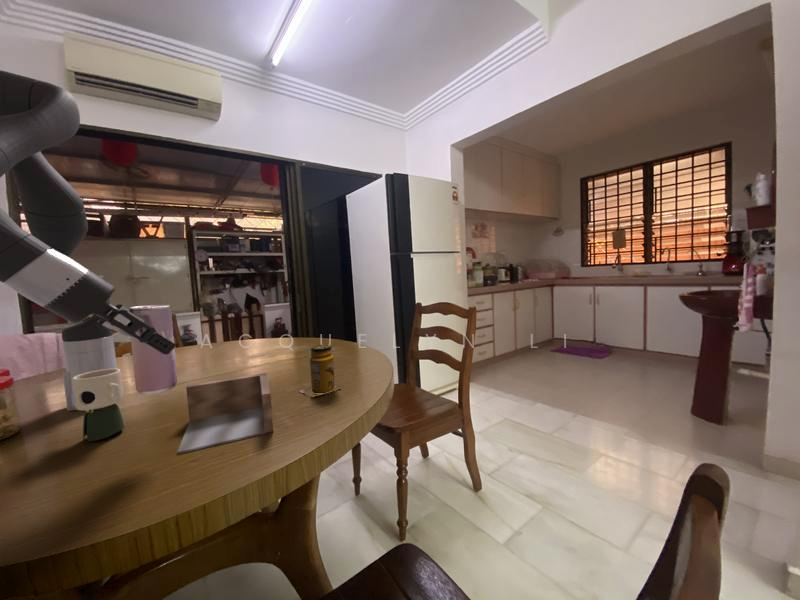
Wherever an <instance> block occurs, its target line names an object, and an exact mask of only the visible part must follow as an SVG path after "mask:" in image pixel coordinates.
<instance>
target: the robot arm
mask: <svg viewBox="0 0 800 600" xmlns="http://www.w3.org/2000/svg"><path fill="white" fill-rule="evenodd" d="M80 123H81V115H80V110H79V106H78V104H77V102H76V99H75V97H74V96H73V95H72V94H71V92H69V91H68V90H66V89H64V88H63V87H61V86H58V85H56V84H53V83H51V82H47V81H42V80H39V79H36V78H31V77H28V76H24V75H21V74H16V73H12V72H10V71H4V70H1V69H0V178H2V177H3V176H4V175H5V174H6V173H8V172H9V171H11V174H12V176H13V179H14V182H15V186H16V190H17V193H18V197H19V201H20V205H21V209H22V211H23V216H24V219H25V222H26V225H27V227H28V230H29V232H28V231H27V230H25V229H23V228H21V226H19V224H18V223H16V222H15V220H14V219H13V218H12V217H11V216H10V215H9V214H8V213H7V212H6V211H5V210H4V209H3V208H2V207H1V206H0V282H1V283H4V284H5V285H6V286H8V287H10V288H11V289H12V290H14V291H15V292H17V293H18V294H19V295H21V296H22V297H24V298H26V299H27V300H29V301H31V302H33V303H35V304H37V305H38V306H40V307H42V308H44V309H46V310H48V311H50V312H51V313H53V314H55V315H57V316H59V317H60V318H62V319H64V320H66V321H68V322H70V323H73V324H74V325H71V326H69V327H66V328H64V329H62V331H61V340H62V345H63V355H64V360H65V369H66V371H64V372H63V373H62V379H63V387H64V393H65V395H64V396H65V404H66V410H67V411H68V412H69V411H79V410H78V409H77V408H76V407H75V402H76V396H75V393H74V390H73V383H72V378H73V377H75V376H77V375H80V374H83V373H87V372H92V371H97V370H103V369H118V365H117V359H116V357H117V356H116V350H115V348H116V347H115V342H114V333H113V330H114V331H115V332H118V333H119V334H120V335H123V336H124V337H126V338H128V339H131V337H135V338H136V339H138V340H139V341H140V342H141V343H145V344H148V345H150V346H151V347H153V348H155V349H156V350H158V351H160V352H162V353H163V354H165V355H167V354H169V353H170V352H171V351H172V350H173V349H174V348H175V347H176V344H175V342H174V343H172V342H171V341H169V340H168V339H166V338H164V337H163V336H161V335H159V334H158V333H157V332H156V330H155V329H154V328H153V327H152V328H151V327H150V326H148V325H146V324H145V321H144V320H143V319H141V318H139V317H138V316H136V315H134V314H133V313H131V311H130V309H129V308H127V307H126V306H125V305H123V304H119V303H117V304H116V305H115V306H114V305H113V304H111V302H110V298H111V297H112V295H113V294H114V293H115V290H116V287H115V286H114V285H112V284H111V283H110V282H108V280H107V278H106V277H105V276H104V275H102V274H96V273H95V272H93V271H91V270H89V269H88V268H87V267H85V266H83V265H82V264H80V262H77V261H76V260H74V259H73V258H71V255H72V254H73V252H74V251H75V250H76V249H77V247H78V246H79V245H80V244H81V242H82V241H84V238H85V237H86V235H87V233H88V230H89V224H88V220H87V219H88V218H87V213H86V209H85V205H84V202H83V201H84V200H83V199H82V197H81V195H80V194H79V193H78V192H77V191H76V190H75V188H74V187H73V186H72V185H71V184H70V183H69V181H67V180H66V179H65V178H64V177H63V176H62V175H61V174H60V173H59V172H58V171H57V170H56V169H55V168H54V167H53V166H52V165H51V164H50V163H49V162H48V160H47V159H46V157H45V156H44V155H43V153H42V151H45V150H46V149H50V148H51V147H54V146H56V145H58V144H60V143H62V142H65V141H68V140H69V139H71V138H72V137H73V136H75V135H76V134H77V132H78V130H79V128H80ZM90 315H92V316H91V317H89V316H90ZM88 317H89V318H88ZM87 318H88V319H87ZM85 319H86V320H85ZM77 323H78V324H77ZM142 327H143V328H145V329H147V330H146V331H145V332H144V333H143V334H142V335H141V336H138V335H136V332H137V331H138V330H139V329H140V328H142Z"/></svg>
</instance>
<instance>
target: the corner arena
mask: <svg viewBox="0 0 800 600" xmlns="http://www.w3.org/2000/svg"><path fill="white" fill-rule="evenodd" d="M269 385H270V384H269V380H268V375H267V372H263V373H257V374H251V375H250V374H249V375H244V376H238V377H231V378H225V379H219V380H212V381H206V382H200V383H194V384H193V383H192V384H188V385H186V387H185V388H186V399H187V407H188V408H187V409H188V410H187V411H188V417H189V418H188V420H189V422H188V423H187V427H186V429H185V432H184V434H183V437H182V440H181V442H180V445H179V447H178V449H177V455H181V454H184V453H188V452H193V451H197V450H203V449H206V448H210V447H215V446H218V445H223V444H227V443H231V442H237V441H241V440H246V439H248V438H249V439H250V438H254V437H258V436H261V435H266V434H271V433H274V424H273V423H274V422H273V410H272V399H271V398H272V397H271V396H272V395H271V389H270V386H269Z"/></svg>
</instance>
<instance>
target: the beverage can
mask: <svg viewBox="0 0 800 600" xmlns="http://www.w3.org/2000/svg"><path fill="white" fill-rule="evenodd" d="M170 306H171V305H170V304H152V305H150V304H149V305H140V306H139V305H137V306H131V307H129V308H128V309H129V310H130V311H131V313H133V314H134V315H136V316H138V317H139V318H141V319H143V320H144V321H145V324H146V325H148V326H150V327H151V328H152V327H153V328H154V329H155V330H156V332H157V333H158V334H159V335H161V336H163V337H164V338H166V339H168V340H169V341H171V342H172V343H174V344H175V338H174V337H175V336H174V326H173V317H172V310H171V308H170ZM146 330H147V329H145V328H143V327H142V328H140V329H139V330H138V331H137V332H136V335H138V336H141V335H142V334H143V333H144V332H145V331H146ZM130 344H131V353H132V363H133V364H132V365H133V372H134V373H133V374H134V384H135V390H136V391H137V393H139V394H141V395H155V394H159V393H165V392H168V391H169V390H172V389H174V388H175V387H176V386H177V384H178V375H177V374H178V373H177V372H178V371H177V361H176V350H175V348H174V349H173V350H172V351H171V352H170V353H169V354H167V355H165V354H163V353H162V352H160V351H158V350H156V349H155V348H153V347H151V346H150V345H148V344H145V343H141V342H140V341H139V340H138V339H136V338H135V337H131V338H130Z"/></svg>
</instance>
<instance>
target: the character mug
mask: <svg viewBox="0 0 800 600" xmlns="http://www.w3.org/2000/svg"><path fill="white" fill-rule="evenodd" d="M122 380H123V379H122V373H121V369H120V368H117V369H103V370H97V371H92V372H87V373H83V374H80V375H77V376H75V377H73V378H72V383H73V390H74V393H75V396H76V402H75V407H76V408H77V409H78V410H77V411H85V412H84V413H83V420H82V421H83V424H82V440H83V441H85V437H86V436H87V437H86V439H87V441H88V442H92V441H93V442H94V441H95V442H96V441H99V440H103V439H107V438H110V437H111V436H113V435H114V434H117V433H118V432H120V431H122V430H124V429H125V424H124V420H123V416H122V413H121V410H120V407H119V406H118V405H117V403H118V402H121V401H122V400H123V398H124V388H123V381H122Z"/></svg>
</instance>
